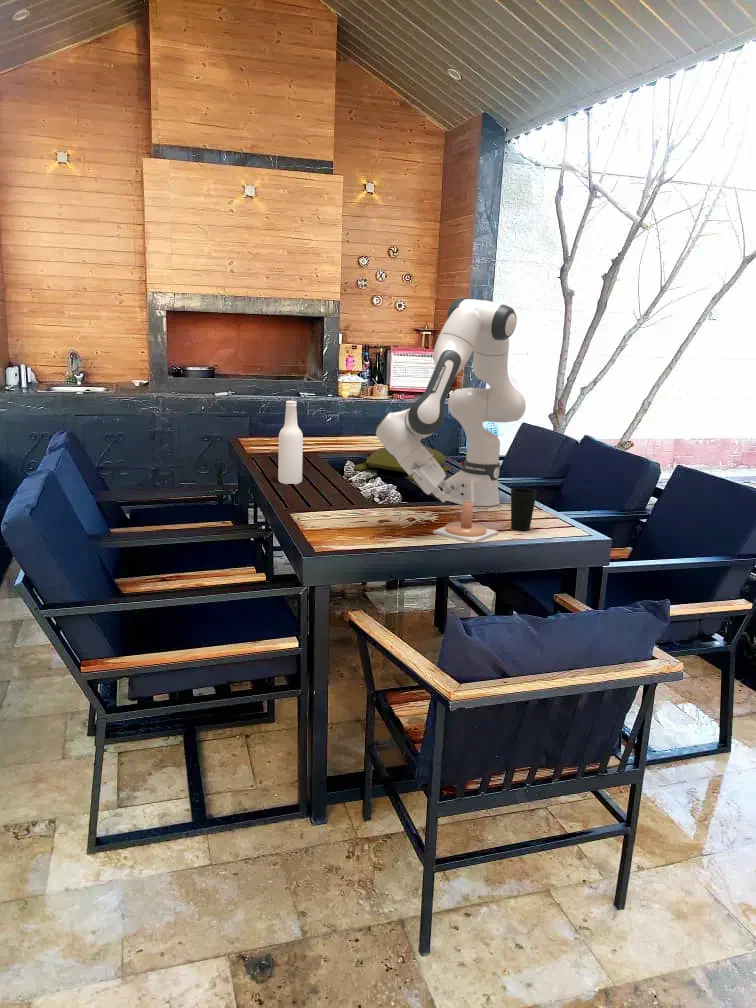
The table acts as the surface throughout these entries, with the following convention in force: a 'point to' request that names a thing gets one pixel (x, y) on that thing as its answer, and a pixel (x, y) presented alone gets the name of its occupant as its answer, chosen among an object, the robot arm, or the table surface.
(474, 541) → the mat
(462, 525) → the lid
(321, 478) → the table surface
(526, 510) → the cup
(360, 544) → the table surface
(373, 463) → the green turtle
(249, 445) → the table surface
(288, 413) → the alcohol
